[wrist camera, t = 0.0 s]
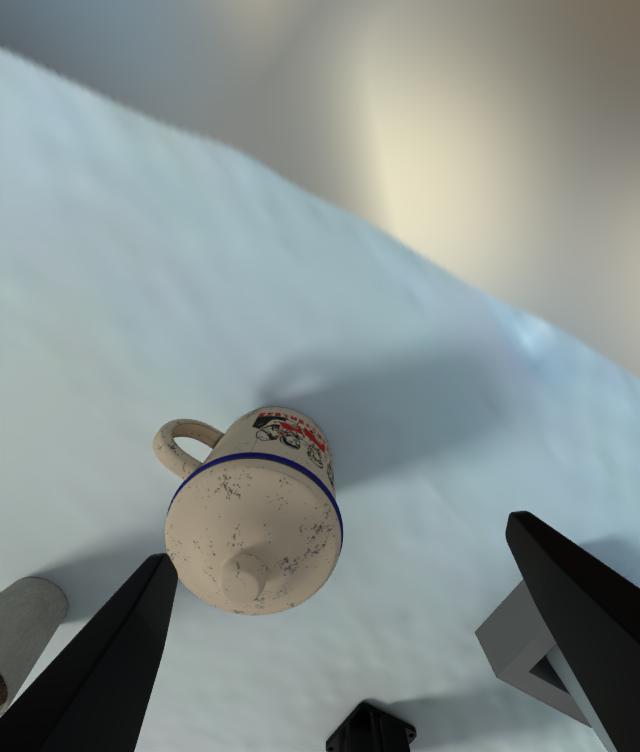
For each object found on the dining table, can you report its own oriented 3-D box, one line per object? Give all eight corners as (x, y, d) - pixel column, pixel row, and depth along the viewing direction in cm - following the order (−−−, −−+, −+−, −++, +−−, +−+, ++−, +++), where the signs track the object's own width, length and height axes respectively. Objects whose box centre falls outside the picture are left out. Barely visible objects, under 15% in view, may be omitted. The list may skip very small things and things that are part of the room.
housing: (559, 679, 29) (591, 727, 26) (474, 632, 28) (496, 677, 25) (636, 603, 28) (681, 645, 24) (549, 550, 26) (584, 586, 23)
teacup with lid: (358, 448, 24) (393, 570, 13) (288, 530, 26) (265, 704, 15) (229, 354, 23) (141, 400, 11) (162, 447, 24) (26, 570, 13)
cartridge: (557, 650, 29) (774, 962, 15) (512, 625, 28) (698, 927, 14) (596, 610, 28) (866, 903, 14) (552, 583, 27) (789, 863, 14)
